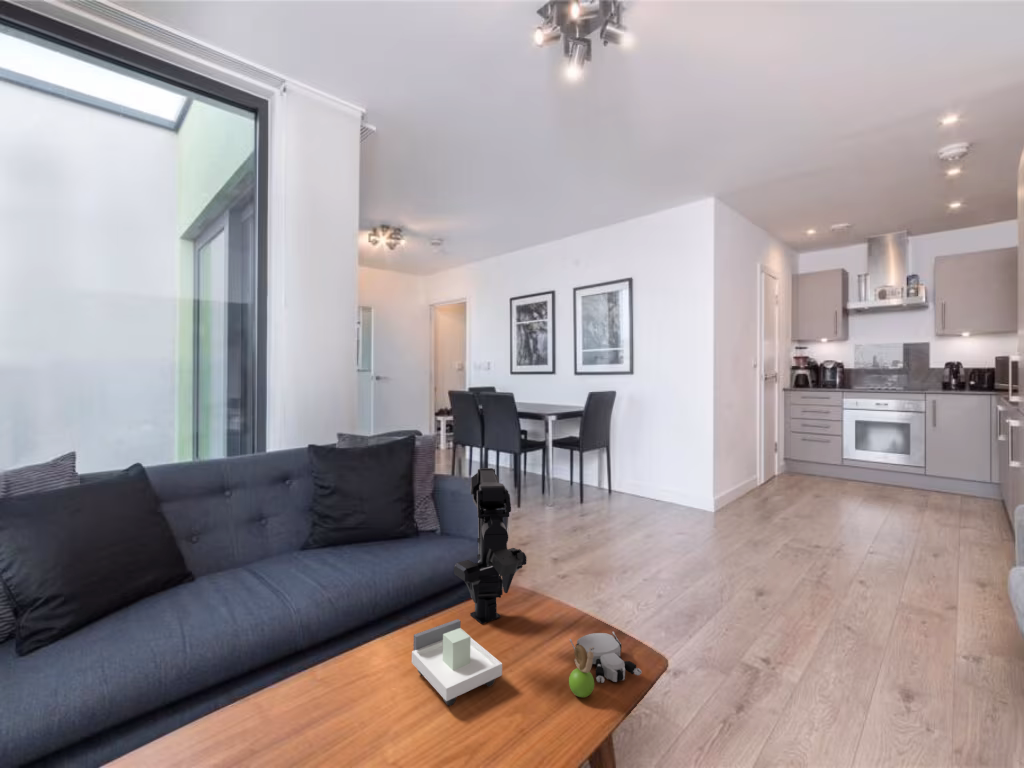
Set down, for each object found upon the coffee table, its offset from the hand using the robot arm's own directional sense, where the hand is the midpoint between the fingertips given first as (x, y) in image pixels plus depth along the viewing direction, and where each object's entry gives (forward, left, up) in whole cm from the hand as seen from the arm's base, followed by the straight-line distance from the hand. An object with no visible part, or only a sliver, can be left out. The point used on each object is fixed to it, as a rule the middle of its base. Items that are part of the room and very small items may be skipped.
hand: (491, 597), depth 116 cm
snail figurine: (+26, +6, -13) cm, 30 cm away
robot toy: (+22, +18, -13) cm, 31 cm away
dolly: (+5, -13, -13) cm, 19 cm away
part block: (+5, -13, -9) cm, 17 cm away
